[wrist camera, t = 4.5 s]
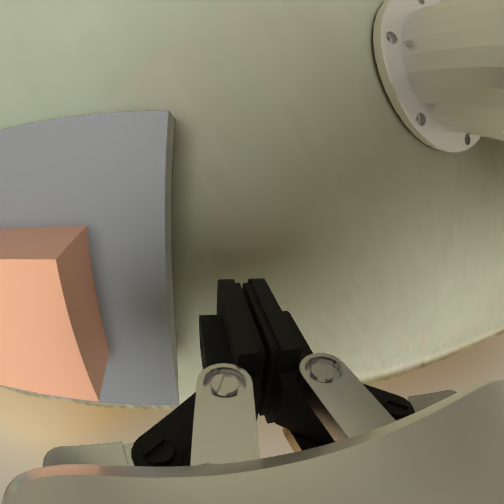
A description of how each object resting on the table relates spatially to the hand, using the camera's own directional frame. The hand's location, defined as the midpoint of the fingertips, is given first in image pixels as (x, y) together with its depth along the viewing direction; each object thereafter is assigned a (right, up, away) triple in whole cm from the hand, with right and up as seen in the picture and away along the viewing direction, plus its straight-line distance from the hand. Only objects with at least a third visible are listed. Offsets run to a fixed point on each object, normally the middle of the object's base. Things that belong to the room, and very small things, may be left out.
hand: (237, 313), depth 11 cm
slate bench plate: (-13, +2, +3) cm, 13 cm away
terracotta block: (-9, 0, -1) cm, 9 cm away
